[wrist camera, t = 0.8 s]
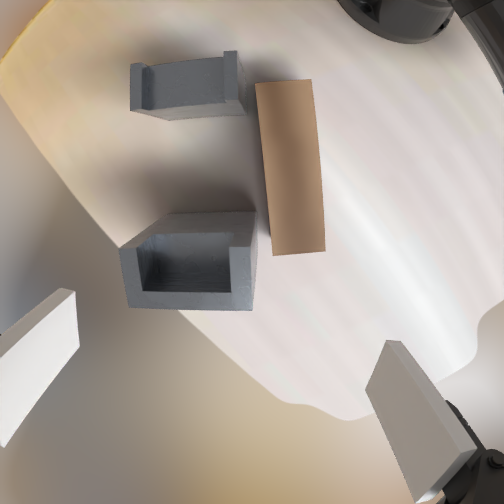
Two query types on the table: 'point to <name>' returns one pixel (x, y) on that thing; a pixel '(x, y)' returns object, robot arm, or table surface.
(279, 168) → the walnut rail
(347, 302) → the table surface
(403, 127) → the table surface
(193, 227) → the cup bracket stand
